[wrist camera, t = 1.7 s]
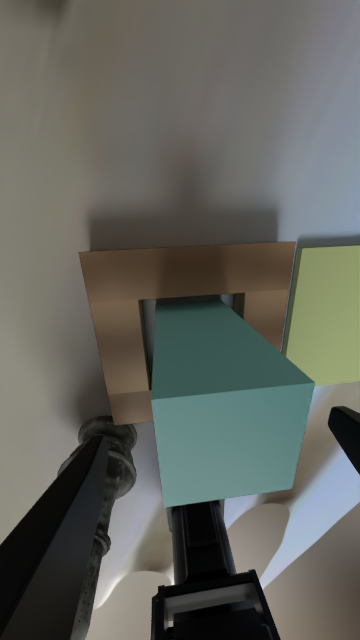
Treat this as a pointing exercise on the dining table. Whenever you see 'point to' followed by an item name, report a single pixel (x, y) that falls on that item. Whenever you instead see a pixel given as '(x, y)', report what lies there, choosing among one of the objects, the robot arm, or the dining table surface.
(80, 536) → the robot arm
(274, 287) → the frame
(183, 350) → the teal peg
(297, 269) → the olive mat
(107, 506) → the dark grey upright piece
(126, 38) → the dining table surface
